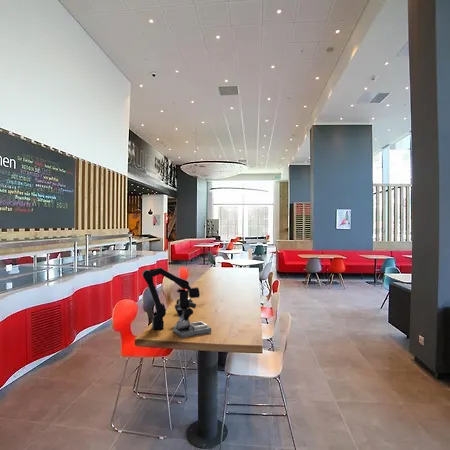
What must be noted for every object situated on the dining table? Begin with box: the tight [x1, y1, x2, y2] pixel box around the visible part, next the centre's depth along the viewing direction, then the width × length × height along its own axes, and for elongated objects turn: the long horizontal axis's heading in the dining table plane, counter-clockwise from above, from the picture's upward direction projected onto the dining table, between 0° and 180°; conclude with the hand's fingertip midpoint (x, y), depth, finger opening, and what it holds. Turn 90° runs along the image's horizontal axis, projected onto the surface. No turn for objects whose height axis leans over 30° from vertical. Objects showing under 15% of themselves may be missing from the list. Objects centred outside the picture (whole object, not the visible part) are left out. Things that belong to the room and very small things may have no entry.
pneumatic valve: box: [175, 297, 194, 309], centre depth 241 cm, size 6×12×12 cm, turn 82°
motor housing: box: [172, 319, 212, 339], centre depth 195 cm, size 21×14×8 cm, turn 120°
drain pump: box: [178, 315, 190, 321], centre depth 208 cm, size 5×5×7 cm
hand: (183, 321), depth 208 cm, fingers open, 9 cm apart
